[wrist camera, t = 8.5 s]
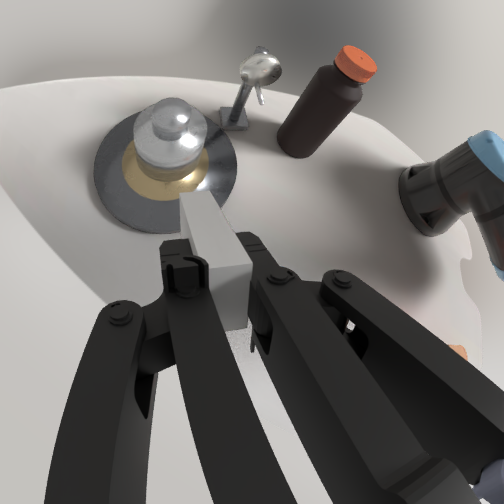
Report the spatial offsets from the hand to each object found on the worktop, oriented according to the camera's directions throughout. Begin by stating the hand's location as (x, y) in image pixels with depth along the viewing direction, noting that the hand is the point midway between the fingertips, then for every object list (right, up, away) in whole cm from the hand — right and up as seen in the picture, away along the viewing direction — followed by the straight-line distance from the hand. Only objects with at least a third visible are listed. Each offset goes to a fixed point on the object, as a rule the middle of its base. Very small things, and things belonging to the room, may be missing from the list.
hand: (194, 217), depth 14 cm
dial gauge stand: (0, +17, +28) cm, 33 cm away
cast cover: (-9, +12, +23) cm, 27 cm away
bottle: (+10, +16, +31) cm, 36 cm away
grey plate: (-9, +10, +23) cm, 27 cm away
